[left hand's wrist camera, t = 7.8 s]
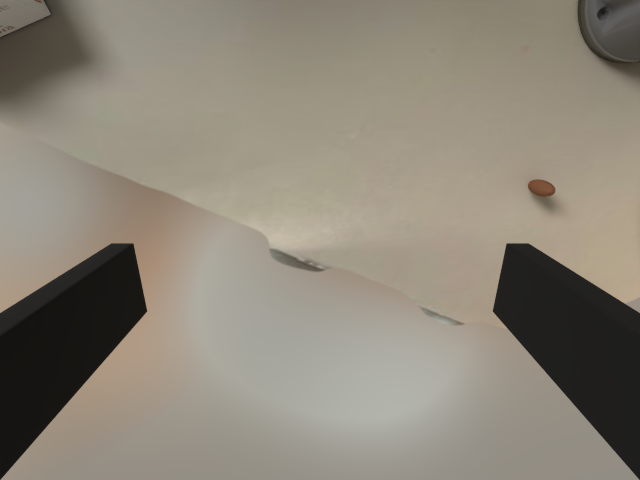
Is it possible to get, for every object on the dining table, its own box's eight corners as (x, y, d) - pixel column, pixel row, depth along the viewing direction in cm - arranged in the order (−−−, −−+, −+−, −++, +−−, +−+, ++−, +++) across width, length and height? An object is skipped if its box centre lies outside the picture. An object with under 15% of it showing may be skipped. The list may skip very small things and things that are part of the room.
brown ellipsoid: (534, 174, 48) (557, 180, 43) (539, 185, 48) (563, 193, 44) (520, 182, 48) (542, 190, 44) (526, 193, 49) (548, 202, 44)
